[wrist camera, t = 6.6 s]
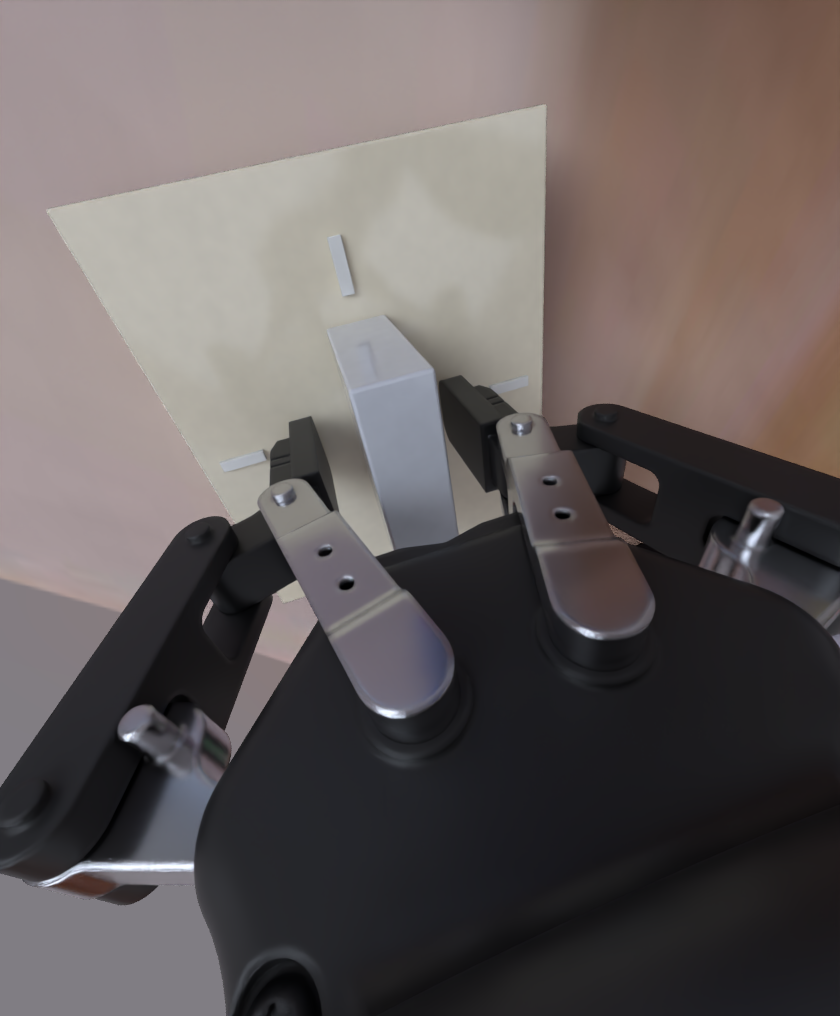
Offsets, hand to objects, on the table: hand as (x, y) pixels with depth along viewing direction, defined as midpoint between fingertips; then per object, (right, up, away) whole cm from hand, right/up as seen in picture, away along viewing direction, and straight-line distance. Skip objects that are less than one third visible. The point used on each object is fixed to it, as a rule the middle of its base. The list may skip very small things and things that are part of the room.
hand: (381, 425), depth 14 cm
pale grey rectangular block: (0, 0, 0) cm, 0 cm away
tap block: (-1, +2, +3) cm, 3 cm away
